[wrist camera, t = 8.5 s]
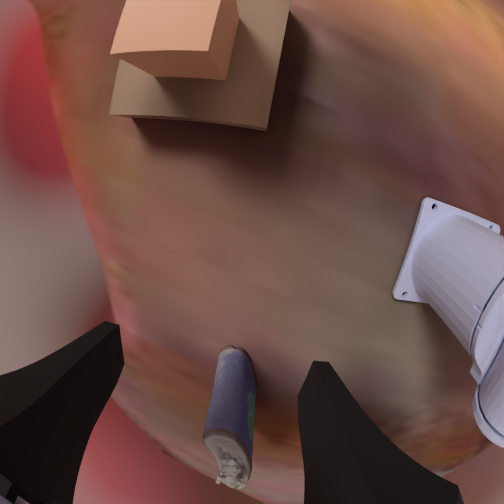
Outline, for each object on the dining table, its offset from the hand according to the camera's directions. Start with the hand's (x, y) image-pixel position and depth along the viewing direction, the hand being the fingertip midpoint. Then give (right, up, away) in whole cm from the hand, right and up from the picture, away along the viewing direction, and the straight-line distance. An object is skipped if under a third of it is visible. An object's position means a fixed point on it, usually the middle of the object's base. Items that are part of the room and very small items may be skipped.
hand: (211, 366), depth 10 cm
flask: (0, -7, +14) cm, 16 cm away
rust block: (-1, +15, +2) cm, 15 cm away
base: (-1, +16, +5) cm, 17 cm away
